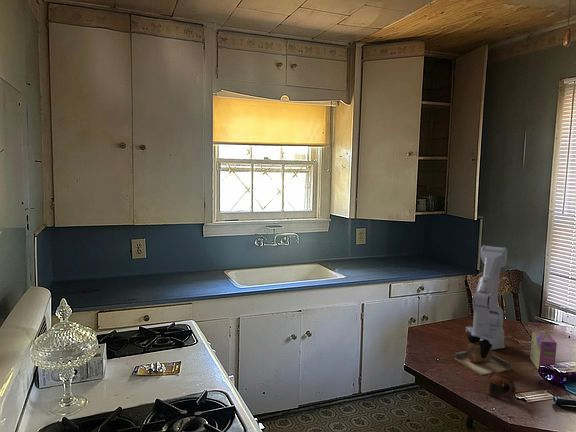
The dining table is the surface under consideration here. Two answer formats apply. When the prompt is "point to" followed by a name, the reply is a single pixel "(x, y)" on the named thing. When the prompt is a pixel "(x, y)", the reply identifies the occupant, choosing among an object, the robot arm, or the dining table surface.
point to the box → (542, 349)
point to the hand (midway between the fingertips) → (479, 354)
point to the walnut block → (477, 353)
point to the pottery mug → (500, 385)
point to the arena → (483, 364)
